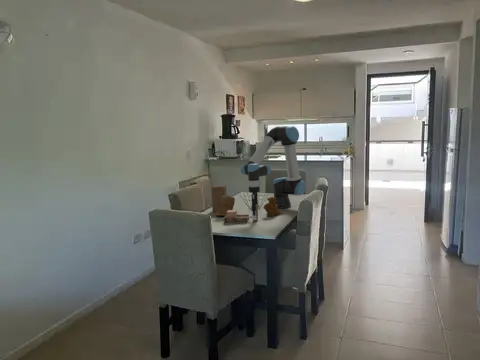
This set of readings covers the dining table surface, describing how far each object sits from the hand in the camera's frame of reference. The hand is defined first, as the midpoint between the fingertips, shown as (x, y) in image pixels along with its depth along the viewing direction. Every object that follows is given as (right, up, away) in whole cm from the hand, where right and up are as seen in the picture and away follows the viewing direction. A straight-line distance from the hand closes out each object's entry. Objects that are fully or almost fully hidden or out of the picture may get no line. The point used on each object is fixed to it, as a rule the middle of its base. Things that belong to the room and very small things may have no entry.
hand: (255, 217), depth 277 cm
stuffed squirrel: (+13, 0, +16) cm, 20 cm away
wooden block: (-27, +2, +40) cm, 48 cm away
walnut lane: (-13, -3, +2) cm, 13 cm away
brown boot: (-21, 0, +22) cm, 30 cm away
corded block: (-9, -2, +2) cm, 9 cm away
